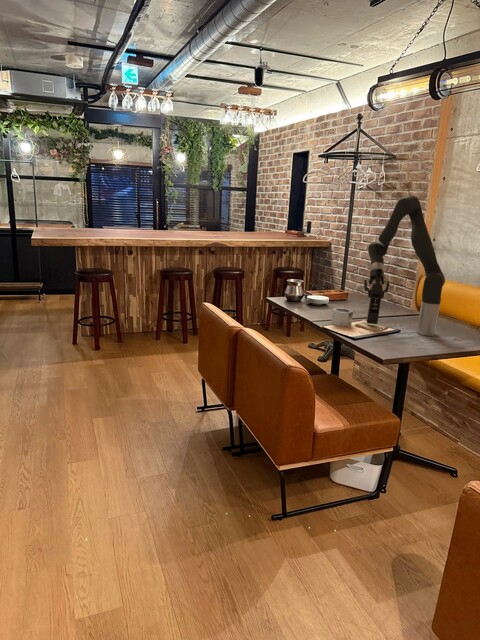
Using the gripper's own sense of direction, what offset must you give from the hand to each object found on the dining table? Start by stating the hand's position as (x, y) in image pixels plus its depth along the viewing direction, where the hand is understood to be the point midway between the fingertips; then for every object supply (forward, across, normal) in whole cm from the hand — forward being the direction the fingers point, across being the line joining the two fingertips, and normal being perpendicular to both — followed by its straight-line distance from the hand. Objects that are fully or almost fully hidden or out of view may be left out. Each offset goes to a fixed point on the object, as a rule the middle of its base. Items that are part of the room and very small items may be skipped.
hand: (375, 297), depth 246 cm
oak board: (+11, 0, +13) cm, 17 cm away
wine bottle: (+9, 0, +12) cm, 15 cm away
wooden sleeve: (+12, -16, +13) cm, 24 cm away
